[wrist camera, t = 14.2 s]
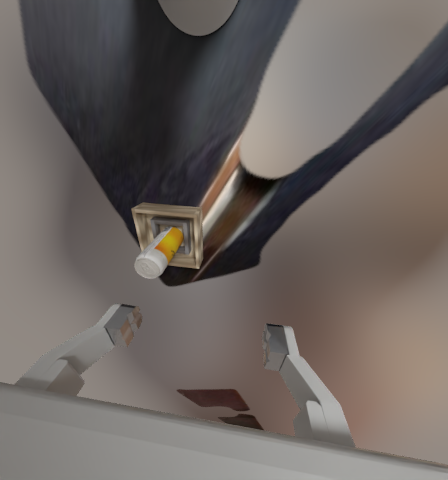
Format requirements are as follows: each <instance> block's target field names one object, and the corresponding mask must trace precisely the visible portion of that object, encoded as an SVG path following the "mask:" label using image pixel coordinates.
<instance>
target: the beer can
mask: <svg viewBox="0 0 448 480" xmlns="http://www.w3.org/2000/svg"><path fill="white" fill-rule="evenodd" d="M183 240H184V237H183V234H182V232H181V231H180V230H179V229H178V228H176V227H172V226H169V227H166V228H165V229H164V230H163V231H162V232H161V233H160V234H159V235H158V236H157V237H156V238H155V239H154V240H153V241H152V242H151V243H150V244H149V245H148V246H147V247H146V248H145V249H144V250H143V251H142V252H141V254H140V255H139V256H138V257H137V258H136V261H135V264H134V267H135V270H136V272H137V273H138V274H139V275H141V276H142V277H144V278H147V279H154V278H157V277H158V276H160V275H161V274H162V273H163V271H164V270H165V268H166V267H167V265H168V264H169V262H170V261H171V259H172V258H173V256H174V255H175V253H176V251H177V250H178V248H179V247H180V245H181V244H182V242H183Z"/></svg>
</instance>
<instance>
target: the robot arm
mask: <svg viewBox="0 0 448 480" xmlns="http://www.w3.org/2000/svg"><path fill="white" fill-rule="evenodd" d="M158 1H159V3H160V5H161V7H162V9H163V11H164V13H165V14H166V16H167V17H168V18H169V20H170V21H171V22H172V23H173V24H174V25H175V26H176V27H177V28H178V29H180V30H181V31H183V32H185V33H187V34H190V35H194V36H203V35H207V34H210V33H212V32H214V31H215V30H217V29H218V28H220V27H221V26H222V25H223V24H224V23H225V22H226V20H227V19H228V18H229V17H230V15H231V14H232V12H233V10H234V8H235V6H236V4H237V2H238V0H158ZM139 311H140V309H139V307H138V306H132V305H124V304H118V303H115V304H113V305H112V306H111V307H110V308H109V310H108V311H107V312H106V313H105V314H104V316H103V317H102V318H101V319H100V321H99V322H98V323H97V324H96V325H95V326H92V327H90V328H89V329H87V330H85V331H83V332H81V333H80V334H78V335H76V336H75V337H73V338H71V339H69V340H68V341H66V342H64V343H63V344H61V345H59V346H58V347H56V348H54V349H52V350H51V351H49V352H47V353H46V354H44V355H43V356H42V357H41V358H40V359H39V360H38V361H37V362H36V363H35V364H34V365H33V366H32V367H31V368H30V369H29V370H28V371H27V372H26V373H25V374H24V375H23V376H22V377H21V378H20V379H19V380H18V381H17V382H16V383H15V384H14V385H12V384H7V383H2V382H0V480H448V465H446V464H442V463H437V462H432V461H426V460H421V459H415V458H410V457H404V456H399V455H394V454H388V453H383V452H377V451H372V450H366V449H361V448H356V447H355V444H354V442H353V439H352V436H351V433H350V431H349V428H348V425H347V422H346V419H345V416H344V414H343V411H342V408H341V405H340V404H339V403H338V401H337V400H336V399H335V398H334V397H333V395H332V394H331V393H330V391H329V390H328V389H327V388H326V386H325V385H324V384H323V382H322V381H321V380H320V379H319V377H318V376H317V375H316V374H315V372H314V371H313V370H312V369H311V367H310V366H309V365H308V364H307V362H306V361H305V360H304V358H303V357H300V356H299V352H298V348H297V344H296V340H295V336H294V332H293V329H292V327H290V326H282V325H274V324H266V325H265V331H263V337H262V345H263V349H264V350H265V352H264V355H263V358H264V368H265V369H270V370H275V371H279V373H280V374H281V376H282V378H283V380H284V381H285V383H286V385H287V387H288V388H289V390H290V392H291V394H292V396H293V398H294V399H295V401H296V403H297V405H298V406H299V408H300V412H299V413H298V414H297V416H296V417H295V418H294V420H293V424H294V430H295V436H290V435H285V434H279V433H273V432H268V431H263V430H257V429H252V428H247V427H241V426H236V425H230V424H225V423H219V422H213V421H208V420H203V419H197V418H192V417H187V416H181V415H175V414H170V413H165V412H159V411H154V410H149V409H143V408H138V407H132V406H126V405H121V404H116V403H110V402H104V401H100V400H94V399H89V398H83V397H78V396H77V394H78V393H79V391H80V390H81V388H82V387H83V385H84V380H83V379H82V377H81V376H80V374H82V373H83V372H84V371H85V370H86V369H88V368H89V367H90V366H91V365H92V364H94V363H95V362H96V361H97V360H99V359H100V358H101V357H102V356H103V355H105V354H106V353H107V352H108V351H109V350H111V349H112V348H113V347H114V346H122V347H128V346H129V344H130V342H131V341H132V339H133V337H134V332H135V331H137V330H138V329H139V327H140V325H141V322H142V315H141V314H140V313H139Z"/></svg>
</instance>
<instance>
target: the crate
mask: <svg viewBox="0 0 448 480" xmlns="http://www.w3.org/2000/svg"><path fill="white" fill-rule="evenodd" d="M131 210H132V214H133V218H134V222H135V226H136V231H137V235H138V239H139V243H140V247H141V251H143V250H144V249H145V248H146V247H147V246H148V245H149V244H150V243H151V242H152V241H153V240H154V239H155V238H156V237H157V236H158V235H159V234H160V233H161V232H162V231H163V230H164V229H165V228H166V227H169V226H172V227H176V228H178V229H179V230H180V231H181V232H182V234H183V237H184V240H183V242H182V244H181V245H180V247H179V248H178V250H177V251H176V253H175V255H174V256H173V258H172V259H171V261H170V262H169V264H168V265H171V266H180V267H188V268H197V269H199V267H200V265H201V262H202V259H203V233H202V208H199V207H188V206H176V205H164V204H153V203H141V204H139V205H137V206H136V207H134V208H132V209H131Z"/></svg>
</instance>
